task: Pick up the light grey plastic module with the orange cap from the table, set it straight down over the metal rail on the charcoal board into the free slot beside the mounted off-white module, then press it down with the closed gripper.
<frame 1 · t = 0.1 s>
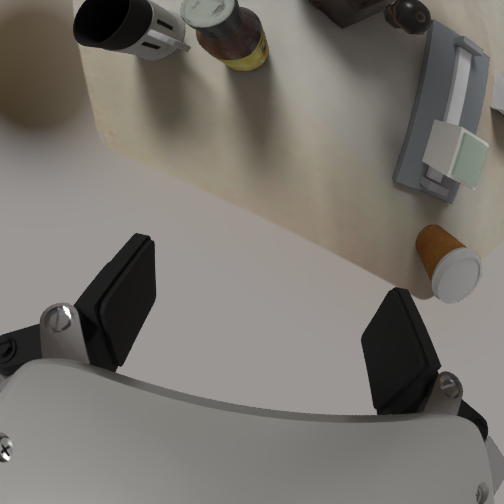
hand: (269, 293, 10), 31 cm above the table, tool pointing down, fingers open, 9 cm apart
rail board: (446, 111, 30), on the table
pepper mill: (353, 4, 24), on the table
disposable coffee cup: (429, 239, 42), on the table
module: (502, 97, 25), on the table
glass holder: (171, 40, 29), on the table
sauce bottle: (245, 51, 30), on the table
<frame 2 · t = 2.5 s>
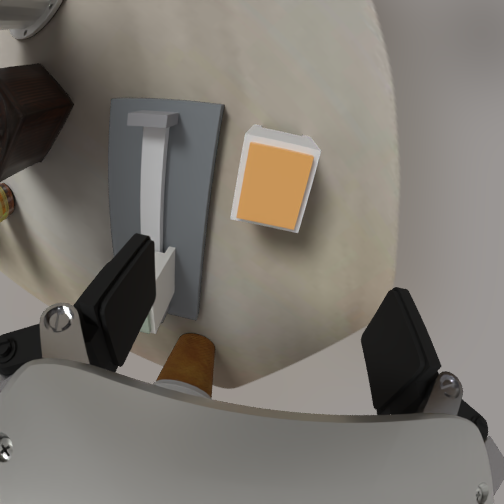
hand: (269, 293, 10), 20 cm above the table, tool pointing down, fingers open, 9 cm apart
rail board: (158, 218, 31), on the table
pepper mill: (47, 123, 25), on the table
disposable coffee cup: (196, 344, 43), on the table
module: (275, 162, 27), on the table
sauce bottle: (6, 196, 31), on the table
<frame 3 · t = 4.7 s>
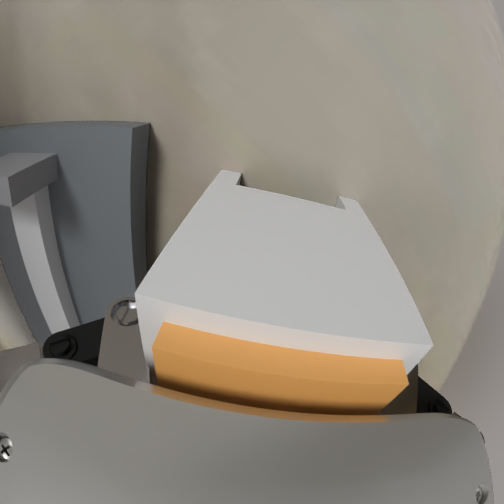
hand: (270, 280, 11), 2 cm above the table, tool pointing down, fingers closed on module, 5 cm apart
rail board: (82, 321, 17), on the table
module: (272, 256, 12), on the table, touching gripper
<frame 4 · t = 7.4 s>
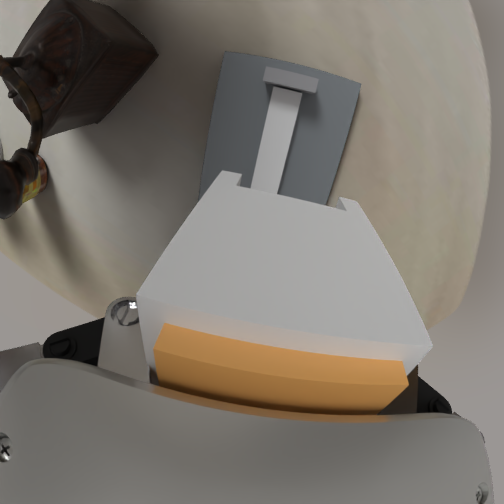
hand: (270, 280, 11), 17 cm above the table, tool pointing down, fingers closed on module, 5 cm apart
rail board: (260, 202, 28), on the table
pepper mill: (113, 77, 22), on the table
module: (272, 257, 12), point 15 cm above the table, touching gripper
sauce bottle: (36, 170, 28), on the table
when the fingers open (4 cm above the table, at t = 10.5 s): module stays where it is, resting on rail board.
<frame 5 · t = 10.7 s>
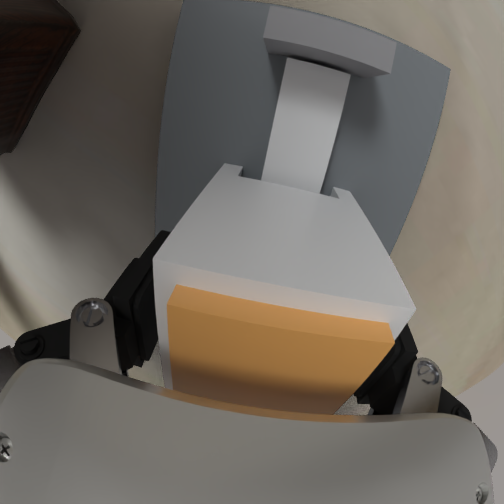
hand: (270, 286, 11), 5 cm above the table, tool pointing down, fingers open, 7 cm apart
rail board: (262, 275, 16), on the table
pepper mill: (26, 78, 10), on the table
module: (272, 244, 13), point 1 cm above the table, touching rail board
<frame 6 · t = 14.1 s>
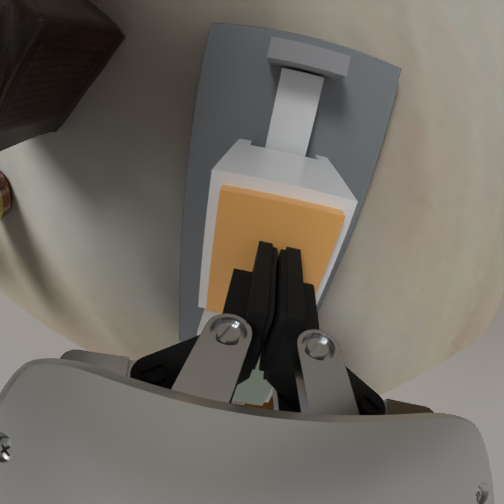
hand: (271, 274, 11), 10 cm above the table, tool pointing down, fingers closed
rail board: (265, 227, 21), on the table
pepper mill: (72, 71, 15), on the table
module: (272, 197, 18), point 1 cm above the table, touching gripper, rail board
sauce bottle: (1, 188, 21), on the table
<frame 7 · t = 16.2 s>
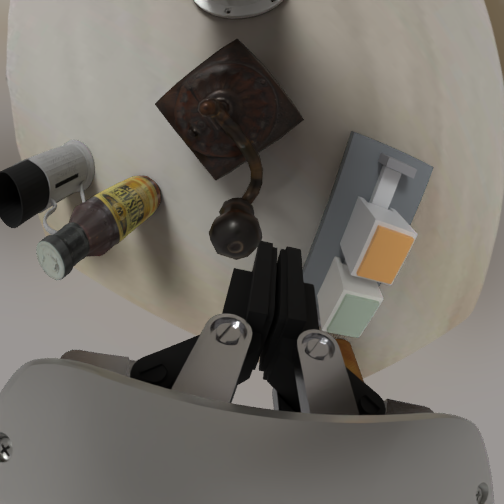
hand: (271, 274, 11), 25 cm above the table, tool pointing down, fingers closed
rail board: (357, 241, 37), on the table
pepper mill: (250, 125, 31), on the table
disposable coffee cup: (334, 348, 48), on the table
module: (367, 226, 34), point 1 cm above the table, touching rail board
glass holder: (86, 174, 36), on the table
sauce bottle: (143, 192, 37), on the table
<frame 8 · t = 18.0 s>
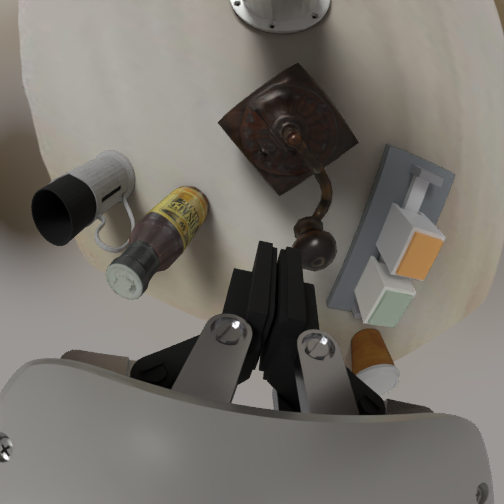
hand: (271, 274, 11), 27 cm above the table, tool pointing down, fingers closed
rail board: (389, 240, 39), on the table
pepper mill: (296, 138, 33), on the table
disposable coffee cup: (365, 337, 51), on the table
module: (399, 228, 36), point 1 cm above the table, touching rail board
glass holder: (125, 184, 39), on the table
sauce bottle: (189, 201, 40), on the table
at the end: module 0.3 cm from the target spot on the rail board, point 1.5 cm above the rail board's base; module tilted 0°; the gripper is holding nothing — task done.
